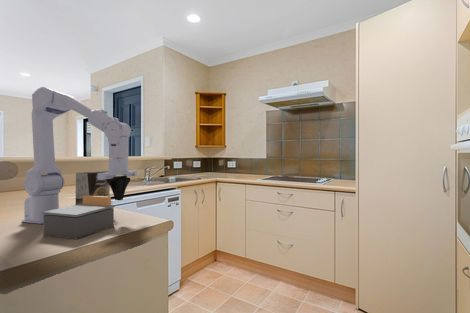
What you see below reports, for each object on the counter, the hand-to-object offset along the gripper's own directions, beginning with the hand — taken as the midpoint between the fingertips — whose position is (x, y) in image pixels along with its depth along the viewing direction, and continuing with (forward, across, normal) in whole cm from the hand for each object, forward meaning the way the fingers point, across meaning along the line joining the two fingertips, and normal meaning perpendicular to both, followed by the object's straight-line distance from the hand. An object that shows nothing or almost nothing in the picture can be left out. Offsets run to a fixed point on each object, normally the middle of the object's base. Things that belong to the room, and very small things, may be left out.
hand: (118, 199), depth 76 cm
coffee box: (+7, +3, +14) cm, 16 cm away
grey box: (+7, -10, +4) cm, 13 cm away
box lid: (+1, -10, +4) cm, 11 cm away
